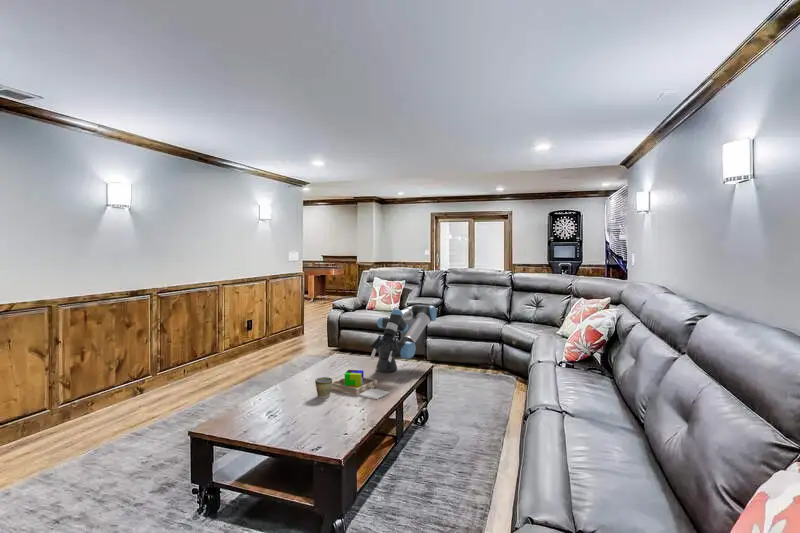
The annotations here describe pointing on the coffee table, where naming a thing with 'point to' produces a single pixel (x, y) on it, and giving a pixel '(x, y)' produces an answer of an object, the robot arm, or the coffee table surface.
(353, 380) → the puzzle toy
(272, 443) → the coffee table surface
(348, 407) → the coffee table surface
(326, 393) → the ceramic cup
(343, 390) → the bin
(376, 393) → the pad
